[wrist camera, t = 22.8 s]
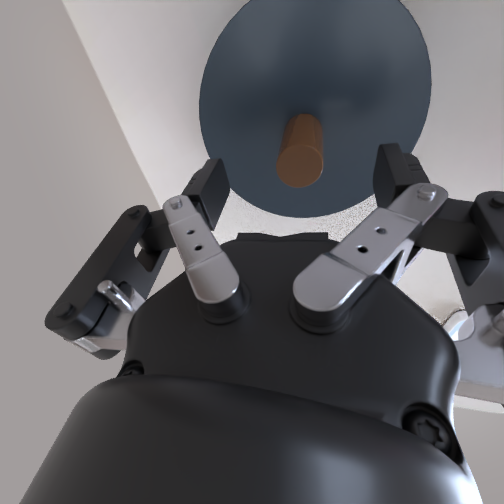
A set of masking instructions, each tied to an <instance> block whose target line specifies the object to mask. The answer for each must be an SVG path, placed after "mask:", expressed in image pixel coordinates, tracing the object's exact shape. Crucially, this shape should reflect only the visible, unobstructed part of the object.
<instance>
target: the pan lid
mask: <svg viewBox="0 0 504 504" xmlns="http://www.w3.org/2000/svg"><path fill="white" fill-rule="evenodd" d="M431 85H432V83H431V65H430V60H429V55H428V50H427V46H426V43H425V41H424V38H423V36H422V33H421V31H420V28H419V26H418V25H417V23H416V22H415V20H414V18H413V17H412V15H411V14H410V12H409V10H408V9H407V8H406V7H405V6H404V5H403V4H402V3H401V2H400V1H399V0H250V1H249V2H248V3H247V4H245V5H244V6H243V7H242V8H241V9H240V10H239V11H238V12H237V14H236V15H235V16H234V17H233V18H232V19H231V20H230V21H229V23H228V24H227V26H226V27H225V29H224V30H223V31H222V33H221V34H220V36H219V37H218V39H217V41H216V43H215V45H214V47H213V49H212V51H211V53H210V56H209V58H208V61H207V64H206V67H205V70H204V74H203V78H202V83H201V88H200V99H199V118H200V126H201V132H202V136H203V140H204V144H205V147H206V150H207V152H208V155H209V157H210V159H218V158H221V159H222V160H223V163H224V166H225V170H226V173H227V177H228V180H229V184H230V188H231V189H232V190H233V191H234V192H235V193H236V194H238V195H239V196H240V197H242V198H243V199H244V200H246V201H247V202H249V203H250V204H252V205H254V206H256V207H258V208H260V209H262V210H264V211H267V212H270V213H273V214H277V215H281V216H286V217H294V218H310V217H320V216H325V215H330V214H333V213H337V212H340V211H343V210H345V209H348V208H350V207H352V206H354V205H356V204H358V203H360V202H362V201H364V200H365V199H367V198H368V197H370V196H371V195H373V194H374V190H373V173H374V168H375V162H376V157H377V152H378V148H379V145H380V144H390V143H398V144H399V146H400V148H401V151H402V153H410V154H411V152H412V151H413V149H414V147H415V145H416V143H417V141H418V139H419V137H420V135H421V132H422V129H423V126H424V124H425V121H426V117H427V113H428V108H429V104H430V96H431Z"/></svg>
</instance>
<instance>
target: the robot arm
mask: <svg viewBox="0 0 504 504" xmlns="http://www.w3.org/2000/svg"><path fill="white" fill-rule="evenodd" d="M373 190H374V194H375V198H376V202H377V206H378V207H377V208H376V209H375V210H374V211H373V212H372V213H371V214H370V215H368V216H367V217H366V218H365V219H364V220H363V221H362V222H361V223H360V224H359V225H358V226H357V227H356V228H355V229H354V230H352V231H351V232H350V233H349V234H348V235H347V236H346V237H345V238H344V239H343V240H342V241H341V242H338V241H334V240H330V239H328V232H311V233H299V234H294V235H288V236H283V237H278V236H273V235H268V234H262V233H238V235H237V238H236V239H235V240H231V241H228V242H226V243H223V244H221V245H219V244H218V242H217V241H216V239H215V237H214V236H213V234H212V232H211V231H214V229H215V227H216V224H217V222H218V220H219V217H220V215H221V212H222V210H223V208H224V205H225V203H226V200H227V198H228V196H229V193H230V184H229V180H228V177H227V173H226V170H225V166H224V163H223V160H222V159H221V158H218V159H208V160H207V161H206V163H205V165H204V166H203V168H202V169H200V170H198V171H197V172H196V173H195V174H194V175H193V177H192V178H191V180H190V181H189V183H188V185H187V186H186V188H185V189H184V191H183V192H182V194H181V195H178V196H174V197H172V198H170V199H168V200H167V201H166V202H165V203H164V204H163V209H162V210H158V211H154V212H149V210H148V208H147V207H146V206H144V205H137V206H133V207H131V208H129V209H127V210H126V211H125V212H124V213H123V214H122V215H121V216H120V218H119V219H118V220H117V222H116V223H115V224H114V226H113V227H112V228H111V230H110V231H109V232H108V234H107V235H106V236H105V238H104V239H103V240H102V242H101V243H100V244H99V246H98V247H97V248H96V250H95V251H94V252H93V254H92V255H91V256H90V258H89V259H88V260H87V262H86V263H85V264H84V266H83V267H82V268H81V270H80V271H79V272H78V274H77V275H76V276H75V278H74V279H73V280H72V282H71V283H70V284H69V286H68V287H67V288H66V289H65V291H64V292H63V294H62V295H61V296H60V298H59V299H58V300H57V301H56V303H55V304H54V306H53V307H52V308H51V310H50V311H49V312H48V314H47V316H46V318H45V326H46V327H47V328H48V329H50V330H51V331H53V332H55V333H57V334H58V335H60V336H61V337H63V338H64V340H66V341H68V342H69V343H71V344H73V345H74V346H76V347H78V348H80V349H81V350H83V351H85V352H88V353H90V354H92V355H94V356H95V357H97V358H99V359H101V360H105V359H110V358H112V357H113V356H115V355H116V354H118V353H119V352H120V351H121V350H126V354H125V358H124V362H123V365H122V368H121V370H120V372H119V374H118V375H117V377H116V378H113V379H110V380H107V381H105V382H102V383H100V384H99V385H97V386H95V387H94V388H92V389H91V390H90V391H88V392H87V393H86V394H85V395H84V396H83V397H82V398H81V399H80V400H79V402H78V403H77V404H76V406H75V407H74V409H73V410H72V412H71V414H70V416H69V418H68V419H67V421H66V423H65V425H64V426H63V428H62V430H61V432H60V433H59V435H58V437H57V439H56V441H55V442H54V444H53V446H52V447H51V449H50V451H49V453H48V455H47V456H46V458H45V460H44V461H43V463H42V465H41V467H40V468H39V470H38V472H37V474H36V476H35V477H34V479H33V481H32V483H31V484H30V486H29V488H28V490H27V491H26V493H25V495H24V497H23V499H22V500H21V502H20V504H483V503H482V500H481V497H480V494H479V491H478V488H477V485H476V483H475V480H474V478H473V475H472V473H471V471H470V468H469V466H468V464H467V461H466V459H465V457H464V455H463V452H462V450H461V447H460V445H459V442H458V439H457V436H456V433H455V428H454V423H453V401H454V395H458V396H464V397H469V398H474V399H479V400H485V401H490V402H495V403H500V404H501V405H502V406H503V407H504V192H501V191H488V192H483V193H481V194H479V195H478V196H477V197H476V199H475V201H474V202H470V201H463V200H456V199H451V198H448V192H447V191H446V190H445V189H444V188H442V187H441V186H438V185H435V184H431V183H430V181H429V179H428V177H427V175H426V174H425V172H424V170H423V168H422V166H421V165H420V162H419V160H418V158H417V157H415V156H414V155H412V154H410V153H402V151H401V148H400V146H399V144H398V143H390V144H380V145H379V148H378V152H377V157H376V162H375V168H374V173H373ZM137 243H139V244H140V246H141V247H142V249H141V251H140V253H139V254H138V256H137V258H136V257H135V254H134V248H135V246H136V244H137ZM173 247H177V249H178V251H179V254H180V256H181V259H182V261H183V264H184V266H185V271H184V272H183V273H182V274H180V275H179V276H178V277H177V278H175V279H174V280H172V281H171V282H170V283H168V284H167V285H166V286H164V287H163V288H162V289H161V290H159V291H158V292H157V293H155V294H154V295H153V296H151V297H150V298H149V299H147V297H148V295H149V292H150V290H151V288H152V286H153V284H154V282H155V280H156V278H157V275H158V273H159V271H160V269H161V267H162V265H163V263H164V261H165V259H166V257H167V254H168V252H169V250H170V248H173ZM424 248H426V249H431V250H435V251H440V252H444V253H446V255H447V258H448V261H449V264H450V266H451V269H452V272H453V275H454V278H455V281H456V283H457V286H458V289H459V292H460V295H461V298H462V300H463V303H464V306H465V309H466V312H467V315H468V319H467V320H466V321H465V322H464V323H463V324H462V325H461V326H460V328H459V330H458V340H457V341H453V340H452V338H451V337H450V335H449V334H448V332H447V331H446V330H445V329H444V328H443V326H441V325H440V324H439V323H438V322H437V321H436V320H435V319H434V318H433V317H431V316H430V315H429V314H428V313H427V312H426V311H424V310H423V309H422V308H421V307H420V306H419V305H417V304H416V303H415V302H414V301H413V300H412V299H410V298H409V297H408V296H407V295H406V294H405V293H403V292H402V291H401V290H400V289H399V288H398V287H396V284H397V283H398V281H399V279H400V277H401V276H402V275H403V273H404V272H405V271H406V270H407V268H408V267H409V266H410V265H411V264H412V262H413V261H414V260H415V259H416V258H417V256H418V255H419V254H420V253H421V252H422V250H423V249H424ZM146 299H147V300H146Z"/></svg>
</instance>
